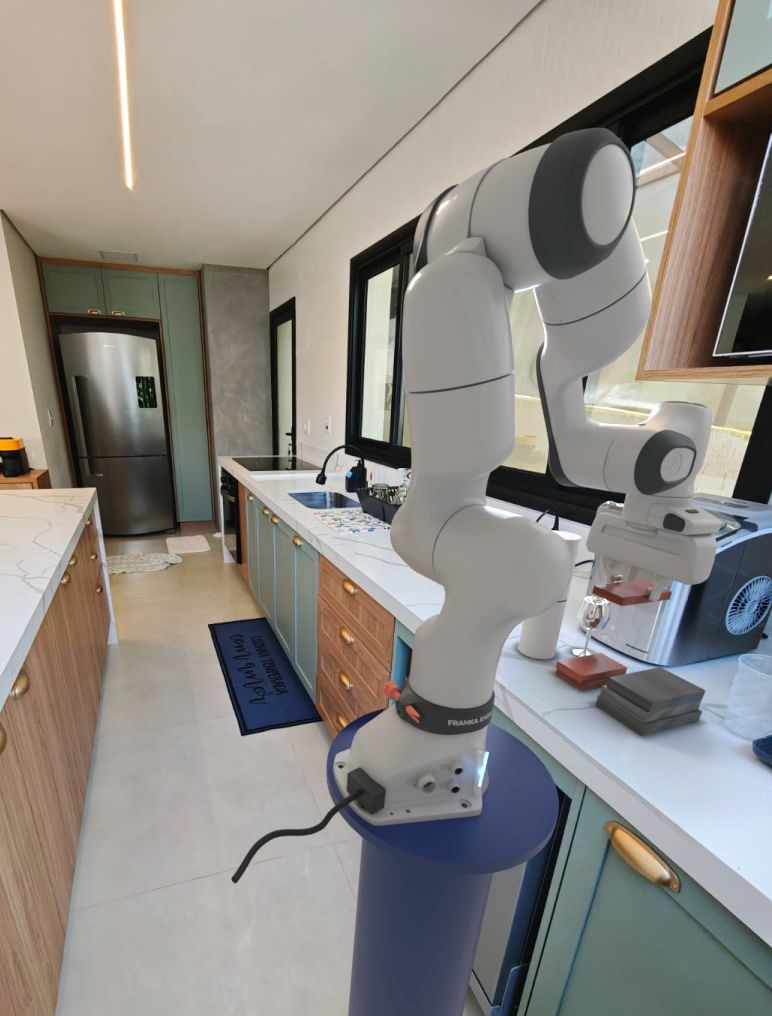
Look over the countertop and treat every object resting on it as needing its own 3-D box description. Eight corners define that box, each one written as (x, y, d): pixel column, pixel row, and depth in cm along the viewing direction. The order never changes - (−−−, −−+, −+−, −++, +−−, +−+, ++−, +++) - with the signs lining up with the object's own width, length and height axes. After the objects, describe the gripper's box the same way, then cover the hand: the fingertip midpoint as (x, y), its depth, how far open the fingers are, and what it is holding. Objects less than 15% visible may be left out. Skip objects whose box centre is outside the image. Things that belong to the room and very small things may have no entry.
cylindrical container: (531, 660, 101) (556, 540, 92) (511, 644, 108) (533, 530, 98) (561, 657, 103) (590, 539, 94) (540, 642, 109) (564, 529, 100)
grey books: (641, 736, 79) (651, 704, 77) (595, 705, 87) (603, 675, 85) (698, 721, 84) (710, 691, 81) (649, 693, 91) (658, 664, 89)
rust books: (579, 691, 91) (583, 677, 90) (553, 674, 97) (556, 660, 96) (624, 682, 95) (628, 668, 94) (597, 666, 100) (600, 652, 99)
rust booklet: (621, 606, 81) (623, 597, 81) (591, 593, 87) (593, 585, 86) (670, 599, 85) (672, 591, 84) (638, 587, 90) (640, 579, 90)
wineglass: (581, 645, 109) (594, 593, 104) (605, 657, 104) (620, 603, 99) (562, 650, 106) (575, 597, 102) (586, 662, 101) (600, 607, 97)
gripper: (587, 499, 88) (570, 574, 93) (703, 526, 71) (674, 616, 76) (614, 498, 90) (596, 571, 96) (733, 524, 73) (703, 612, 78)
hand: (631, 591), depth 85 cm, fingers closed on rust booklet, 6 cm apart
